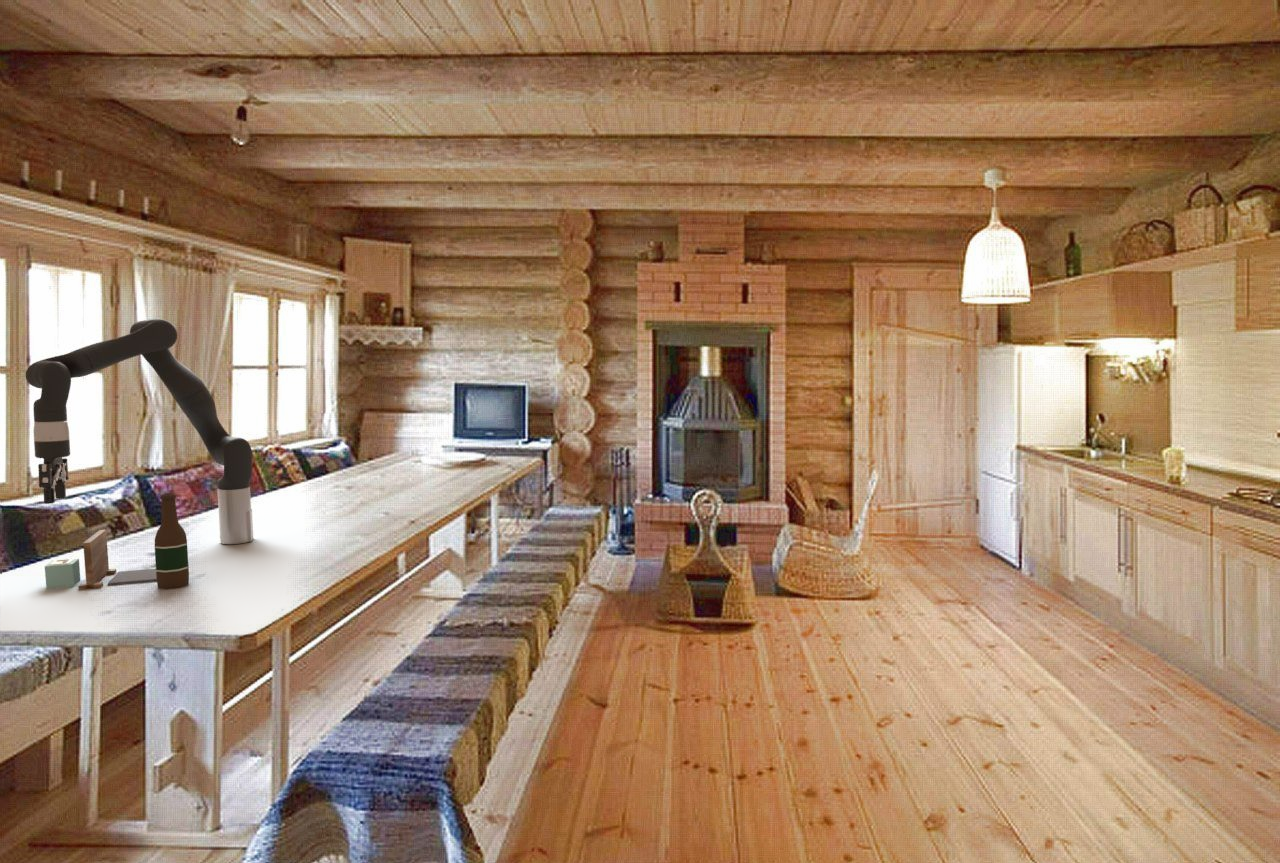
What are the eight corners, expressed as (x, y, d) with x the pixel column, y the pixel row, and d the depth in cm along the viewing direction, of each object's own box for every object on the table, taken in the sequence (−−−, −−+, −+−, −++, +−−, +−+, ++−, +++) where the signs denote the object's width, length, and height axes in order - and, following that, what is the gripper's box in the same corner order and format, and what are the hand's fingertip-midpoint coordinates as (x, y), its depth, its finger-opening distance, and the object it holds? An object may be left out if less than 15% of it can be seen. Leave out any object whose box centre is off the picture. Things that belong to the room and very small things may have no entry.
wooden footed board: (116, 572, 229) (113, 529, 228) (101, 587, 214) (98, 541, 213) (95, 574, 227) (92, 530, 226) (78, 589, 212) (75, 543, 211)
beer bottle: (165, 581, 220) (159, 491, 217) (195, 580, 220) (190, 490, 218) (150, 590, 212) (144, 496, 210) (182, 589, 213) (176, 496, 210)
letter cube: (80, 580, 221) (78, 557, 220) (73, 586, 215) (72, 562, 215) (53, 583, 219) (51, 559, 218) (46, 589, 213) (44, 564, 213)
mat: (168, 569, 232) (168, 567, 232) (160, 580, 220) (160, 578, 220) (118, 573, 228) (118, 571, 227) (107, 585, 216) (107, 583, 216)
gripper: (59, 440, 211) (63, 504, 212) (77, 436, 224) (80, 495, 226) (24, 441, 209) (28, 506, 210) (44, 436, 222) (47, 497, 223)
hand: (55, 500), depth 218 cm, fingers open, 8 cm apart
